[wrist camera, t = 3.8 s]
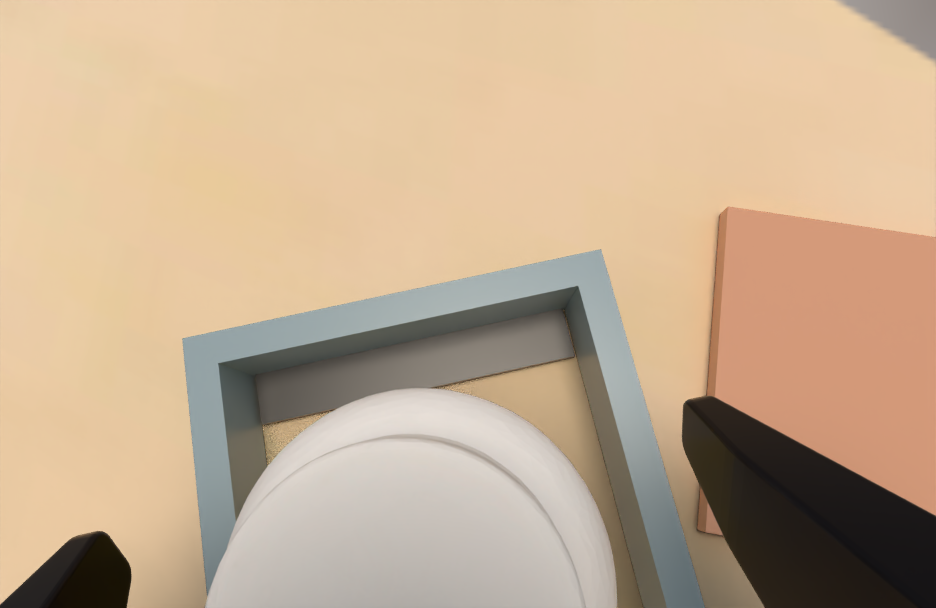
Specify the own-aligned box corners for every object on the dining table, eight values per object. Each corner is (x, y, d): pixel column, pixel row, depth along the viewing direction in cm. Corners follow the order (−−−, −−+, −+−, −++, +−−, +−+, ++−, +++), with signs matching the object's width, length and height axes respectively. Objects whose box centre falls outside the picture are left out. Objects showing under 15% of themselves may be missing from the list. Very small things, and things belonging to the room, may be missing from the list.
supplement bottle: (305, 489, 16) (24, 541, 6) (479, 379, 17) (478, 266, 7) (410, 687, 15) (271, 1151, 5) (594, 560, 15) (797, 746, 6)
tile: (1055, 594, 15) (1078, 599, 14) (697, 529, 16) (705, 532, 15) (1033, 261, 17) (1052, 254, 17) (720, 214, 18) (728, 206, 17)
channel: (692, 668, 15) (734, 709, 12) (272, 769, 14) (230, 832, 12) (583, 278, 17) (601, 249, 15) (224, 355, 17) (182, 338, 15)
